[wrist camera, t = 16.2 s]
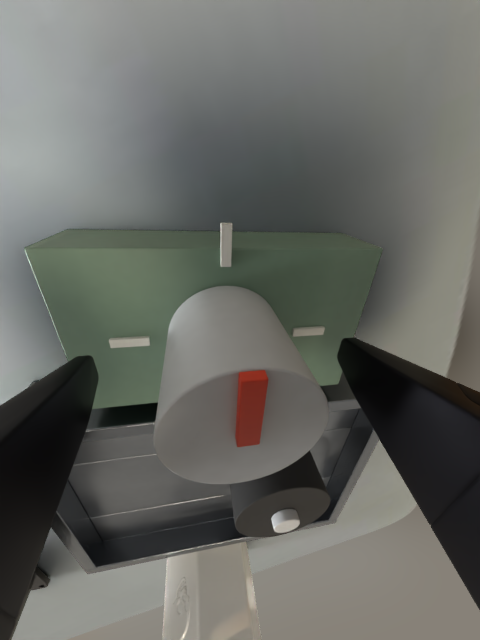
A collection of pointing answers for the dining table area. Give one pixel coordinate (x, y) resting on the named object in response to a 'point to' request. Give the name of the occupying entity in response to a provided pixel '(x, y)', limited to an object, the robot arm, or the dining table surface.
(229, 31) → the dining table surface
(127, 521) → the sink
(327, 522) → the grey metal tray
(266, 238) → the panel
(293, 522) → the stopper
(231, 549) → the jar
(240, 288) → the tap knob
